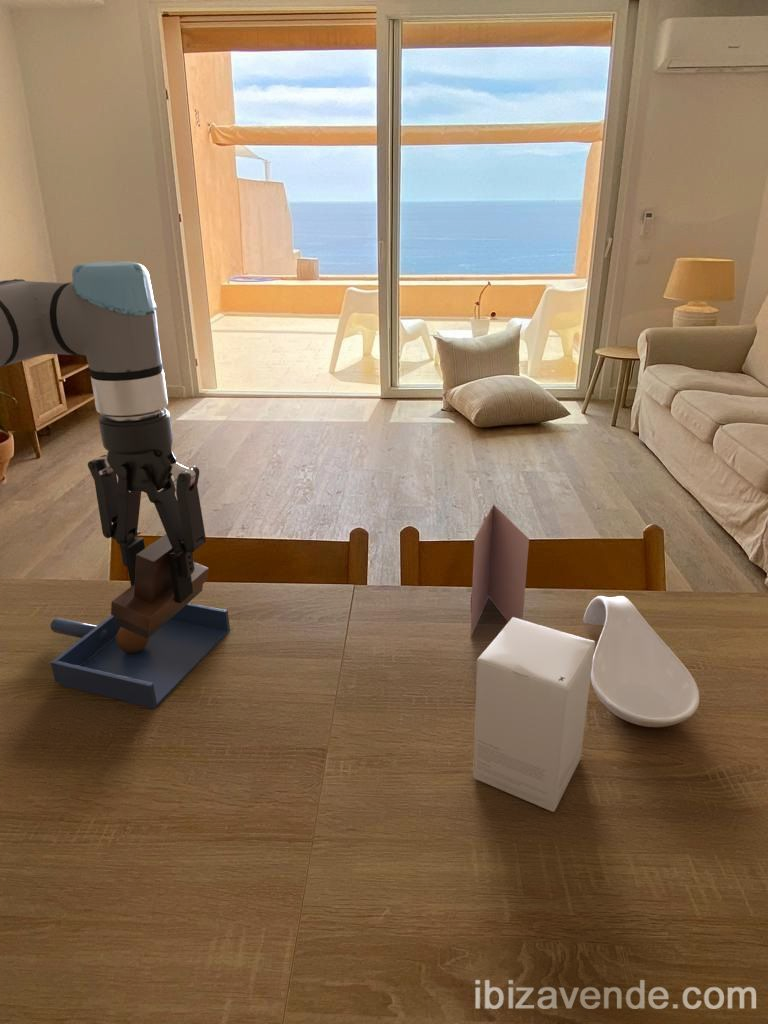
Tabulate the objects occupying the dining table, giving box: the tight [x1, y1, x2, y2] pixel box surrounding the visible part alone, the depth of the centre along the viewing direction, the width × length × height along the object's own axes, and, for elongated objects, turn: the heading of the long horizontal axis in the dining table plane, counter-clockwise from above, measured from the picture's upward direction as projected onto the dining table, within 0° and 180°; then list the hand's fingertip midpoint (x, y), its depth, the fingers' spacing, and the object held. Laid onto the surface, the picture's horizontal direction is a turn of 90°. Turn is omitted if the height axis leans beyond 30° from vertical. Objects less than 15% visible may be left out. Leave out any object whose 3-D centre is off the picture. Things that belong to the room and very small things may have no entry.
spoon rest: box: [582, 595, 700, 728], centre depth 85 cm, size 24×12×7 cm, turn 0°
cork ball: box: [115, 627, 148, 653], centre depth 91 cm, size 4×4×4 cm
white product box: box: [472, 617, 596, 813], centre depth 70 cm, size 9×9×15 cm
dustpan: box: [50, 602, 231, 710], centre depth 92 cm, size 23×17×3 cm
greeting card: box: [469, 503, 530, 638], centre depth 95 cm, size 11×7×15 cm, turn 160°
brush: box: [110, 533, 209, 639], centre depth 85 cm, size 5×12×10 cm, turn 161°
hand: (162, 592), depth 86 cm, fingers closed on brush, 5 cm apart
